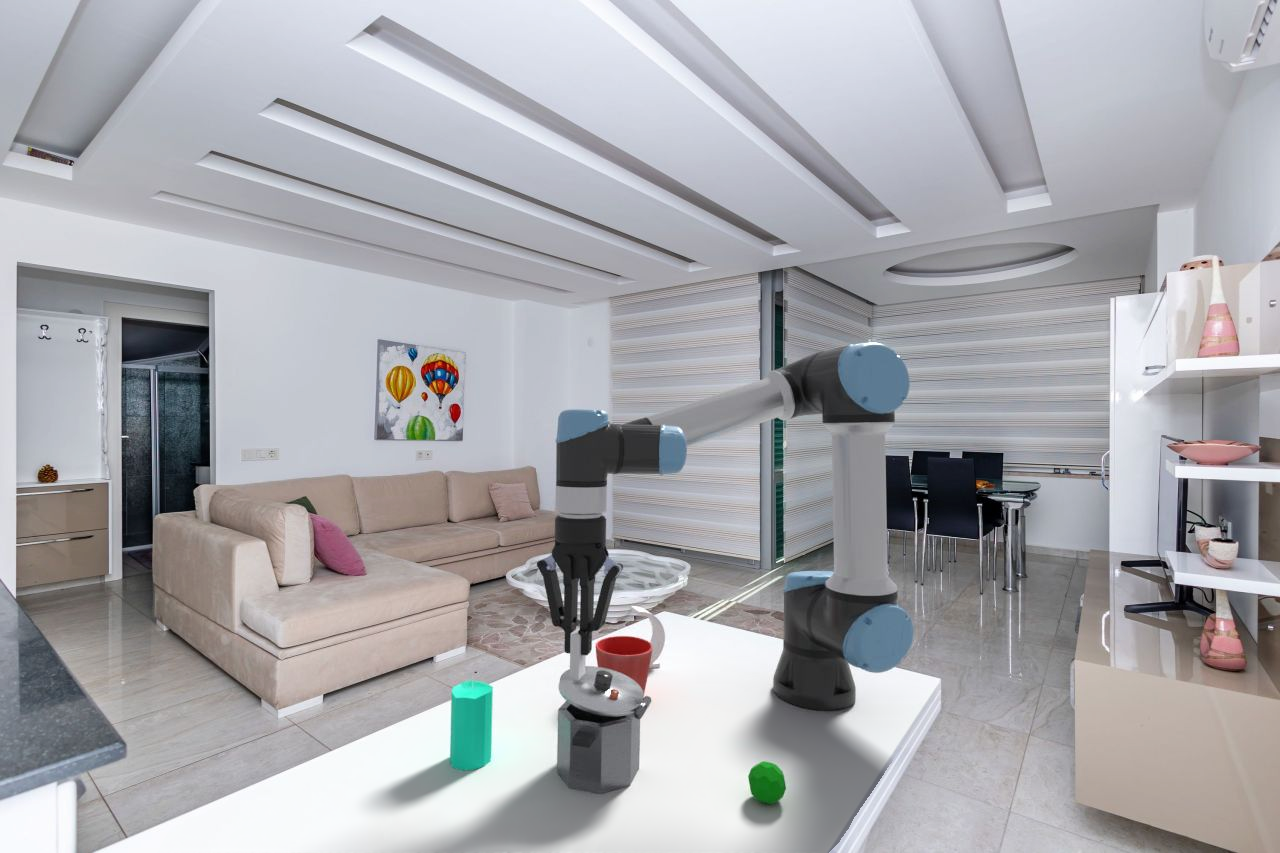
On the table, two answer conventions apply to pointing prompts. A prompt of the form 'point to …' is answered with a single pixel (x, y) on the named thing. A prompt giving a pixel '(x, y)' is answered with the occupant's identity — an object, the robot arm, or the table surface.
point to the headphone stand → (653, 635)
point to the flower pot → (626, 657)
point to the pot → (597, 749)
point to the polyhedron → (767, 782)
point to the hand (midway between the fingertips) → (577, 675)
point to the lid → (604, 693)
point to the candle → (471, 725)
